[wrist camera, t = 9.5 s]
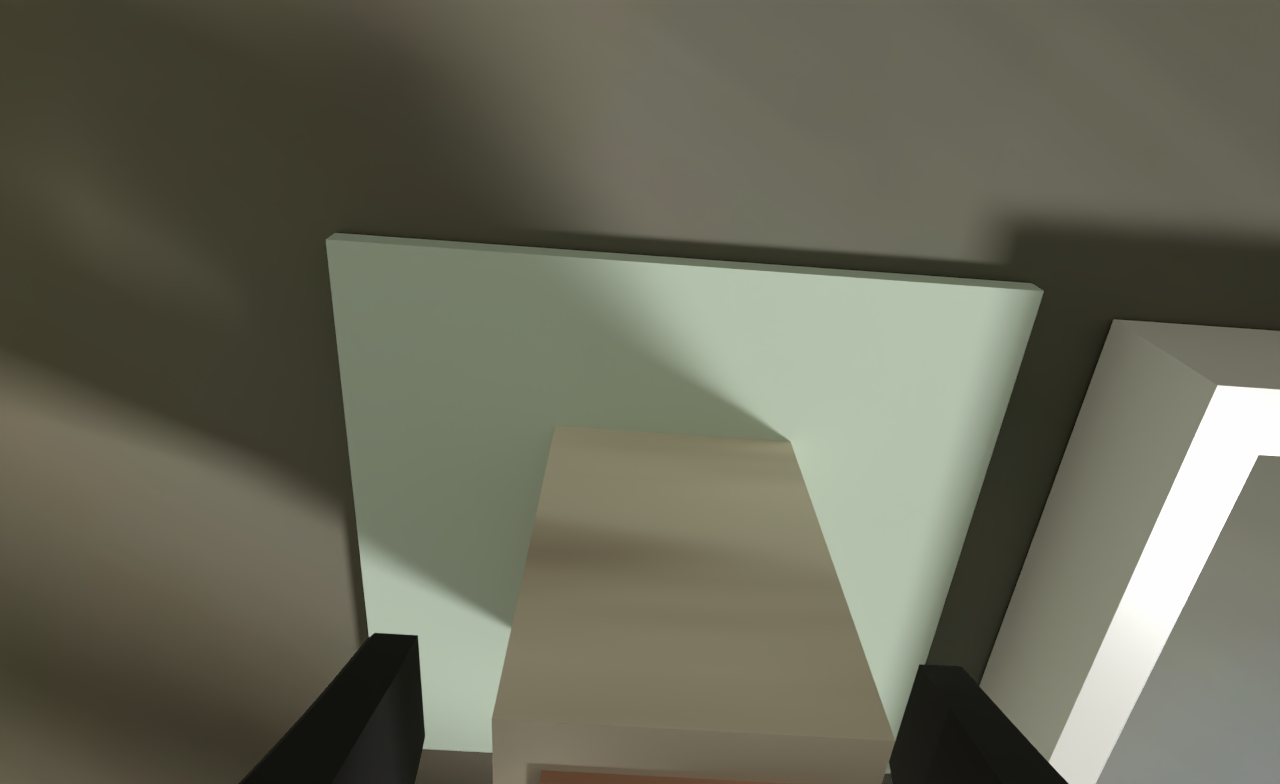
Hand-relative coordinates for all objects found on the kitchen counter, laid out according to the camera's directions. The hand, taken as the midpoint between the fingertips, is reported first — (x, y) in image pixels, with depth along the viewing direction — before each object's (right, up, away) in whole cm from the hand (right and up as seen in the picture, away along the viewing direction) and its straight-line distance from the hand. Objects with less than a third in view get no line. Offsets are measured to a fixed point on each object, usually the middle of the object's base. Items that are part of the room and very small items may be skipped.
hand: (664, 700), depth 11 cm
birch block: (0, +2, +3) cm, 3 cm away
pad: (0, +2, +3) cm, 4 cm away
